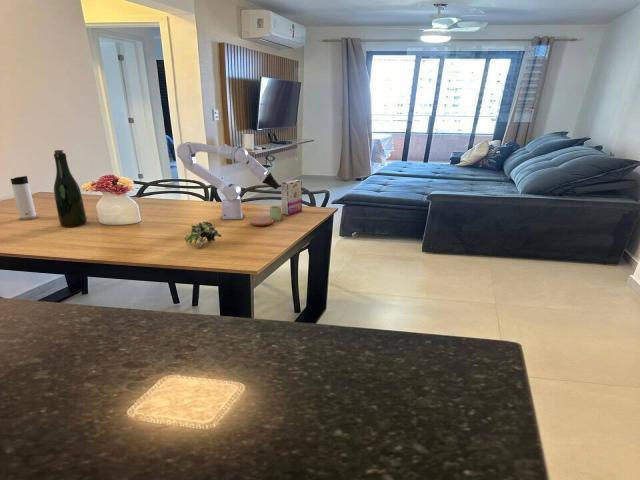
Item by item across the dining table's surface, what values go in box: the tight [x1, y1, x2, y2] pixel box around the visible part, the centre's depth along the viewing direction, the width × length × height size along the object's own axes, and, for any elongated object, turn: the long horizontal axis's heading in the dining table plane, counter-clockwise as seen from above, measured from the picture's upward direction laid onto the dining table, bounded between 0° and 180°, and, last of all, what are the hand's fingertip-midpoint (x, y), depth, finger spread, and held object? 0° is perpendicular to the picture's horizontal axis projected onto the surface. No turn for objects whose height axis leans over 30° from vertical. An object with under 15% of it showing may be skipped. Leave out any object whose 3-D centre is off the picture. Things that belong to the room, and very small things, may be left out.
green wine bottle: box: [53, 149, 88, 228], centre depth 167 cm, size 10×10×33 cm
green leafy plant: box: [184, 220, 222, 249], centre depth 148 cm, size 11×11×12 cm
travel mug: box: [10, 175, 38, 221], centre depth 177 cm, size 6×7×20 cm
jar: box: [269, 205, 282, 222], centre depth 185 cm, size 5×5×6 cm
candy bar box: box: [280, 179, 303, 216], centre depth 196 cm, size 11×5×16 cm, turn 143°
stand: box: [248, 216, 274, 227], centre depth 178 cm, size 11×11×2 cm
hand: (277, 187), depth 184 cm, fingers open, 7 cm apart
